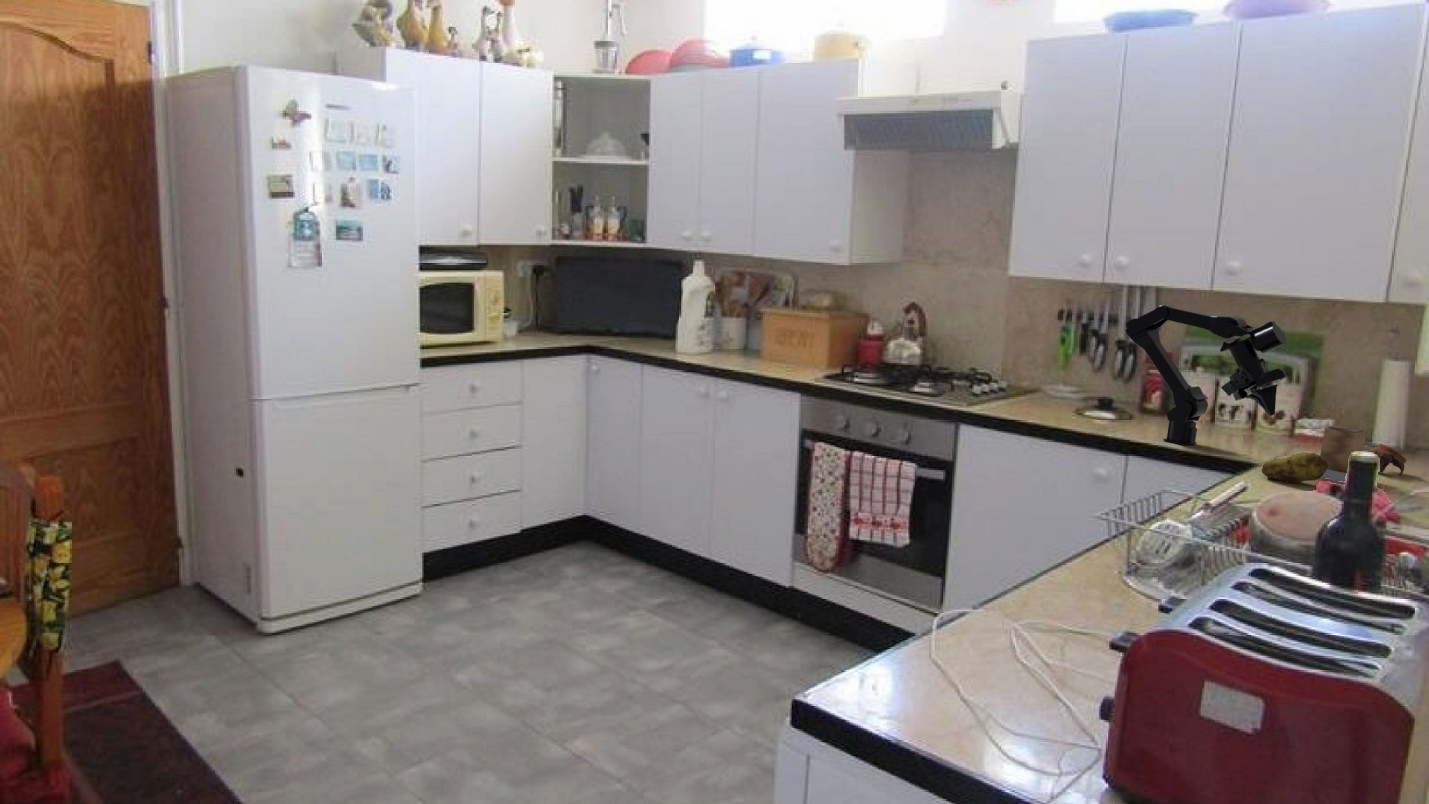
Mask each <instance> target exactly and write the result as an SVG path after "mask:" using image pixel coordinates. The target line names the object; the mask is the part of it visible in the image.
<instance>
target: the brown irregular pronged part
mask: <svg viewBox="0 0 1429 804" xmlns="http://www.w3.org/2000/svg"><path fill="white" fill-rule="evenodd" d="M1367 451H1368V452H1374V453H1375V454H1376V455H1377V457H1379V458H1380V472H1379V473H1383V472H1384V471H1385V470H1386V468H1387V467H1388V466H1389V465H1390V464H1392V465H1393V466H1394V467H1396V468H1398V469H1399V470H1400V472H1399V473H1398V475H1399V476H1402V475H1403V474H1404V471H1405V464H1406V462H1407V458H1406V457H1405V456H1403V455H1402V454H1401V453H1399V452H1398V451H1396V450H1395V449H1393V448H1391V446H1390V447H1389V446H1387V445H1385V444H1382V443H1379V444H1378V445H1377V447H1372V448H1370V449H1368V450H1367Z"/></svg>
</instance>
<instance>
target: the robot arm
mask: <svg viewBox="0 0 1429 804" xmlns="http://www.w3.org/2000/svg"><path fill="white" fill-rule="evenodd" d="M1168 321H1171V322H1175V323H1179V324H1183V325H1188V326H1192V327H1196V328H1199V329H1203V330H1206V331H1208V332H1210V333H1212V334H1213V335H1215V336H1218V337H1220V338H1223V339H1234V340H1232V341H1223V342H1222V345H1221V347H1220V349H1219V352H1220V353H1221V352H1222V353H1223V352H1224V353H1225V352H1229V353H1230V356H1231V357H1232V360H1233V362H1234V364H1235V366H1236V368H1235V369H1234V372H1233V373H1232V374H1231V375H1230V376H1228V377H1229V380H1228V381H1226V383H1224V384H1223V385H1221V386H1220V388H1221V389H1222V391H1223V392H1224V393H1225V394H1227V396H1228V397H1231V396H1233V397H1234V400H1235V402H1237V401H1241V400H1244V399H1250V400H1254V401H1255V402H1256V403H1257V404H1258V405H1259V406H1260V407H1261V408H1262V409H1263V410H1264V412H1266V414H1267V415H1268V416H1269V417H1273V416H1275V414H1276V403H1277V402H1276V399H1277V391H1278V390H1277V388H1278V383H1277V384H1275V383H1274V382H1276V381H1282V380H1284V379H1286V378H1287V374H1286V372H1285V371H1284V369H1281V368H1275V369H1272V370H1269V371H1266V369H1265V367H1264V365H1263V363H1265V360H1264V358H1260V356H1259V354H1258V352H1261V354H1265V353H1268V352H1270V351H1273V350H1275V349H1277V348H1279V347H1280V348H1281V347H1282V346H1284V345H1286V344H1287V337H1286V334H1285V332H1284V331H1283V330H1282V329H1281V328H1280V327H1279V326H1278V325H1277V324H1276V322H1275V321H1273V320H1270V321H1268V322H1266V323H1264V324H1262V325H1261V326H1258V327H1257V328H1255V327H1253V326H1251V325H1249V324H1247V322H1246V320H1245V319H1244V318H1243V317H1241V316H1234V315H1233V316H1232V315H1212V314H1207V313H1202V312H1199V311H1198V312H1197V311H1194V310H1189V309H1186V308H1185V309H1184V308H1179V307H1175V306H1173V305H1171V304H1163V305H1159V306H1158V307H1155V309H1153V310H1151V311H1149V312H1147V313H1145V314H1143V315H1141V316H1139V317H1136V318H1131V319H1130V320H1128V322H1127V323H1126V325H1125V329H1124V332H1125V333H1126V335H1127V336H1128V337H1129V339H1130V340H1131V341H1132V342H1133V343H1134V344H1135V345H1137V346H1138V347H1140V348H1141V349H1142V350H1144V351H1145V353H1146V355H1147V356H1148V358H1149V359H1150V361H1151V362H1152V364H1153V365H1154V367H1155V368H1156V370H1157V372H1158V373H1159V374H1160V375H1161V377H1162V379H1163V381H1164V382H1165V384H1166V385H1167V387H1168V388H1169V390H1170V391H1171V394H1172V402H1173V404H1174V407H1173V408H1171V409H1170V410H1168V411H1167V412H1166V416H1167V417H1166V418H1167V421H1168V427H1167V434H1166V437H1165V438H1163V439H1162V440H1163V441H1164V442H1168V443H1173V444H1178V445H1181V446H1188V445H1196V444H1197V441H1196V440H1197V432H1198V428H1197V422H1198V421H1199V420H1200V419H1201V417H1202V416H1204V415H1205V414H1206V413H1207V411H1208V407H1209V402H1208V400H1207V399H1208V397H1207V396H1206V395H1205V394H1204V392H1203V390H1202V388H1201V387H1200V386H1191V385H1190V384H1189V383H1188V382H1187V380H1186V379H1185V377H1184V376H1183V374H1182V372H1181V371H1180V370H1179V368H1178V367H1177V365H1176V363H1174V360H1173V359H1172V358H1171V357H1170V355H1169V354H1168V352H1167V350H1166V348H1165V347H1164V346H1163V345H1162V343H1161V340H1160V338H1161V337H1160V333H1159V330H1158V329H1160V328H1162V327H1163V325H1165V324H1166V323H1167V322H1168ZM1242 337H1247V338H1245V339H1242Z"/></svg>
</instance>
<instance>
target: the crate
mask: <svg viewBox="0 0 1429 804" xmlns="http://www.w3.org/2000/svg"><path fill="white" fill-rule="evenodd" d="M1323 432H1324V433H1323V437H1322V443H1321V448H1320V454H1319V456H1321V457H1322V458H1323V459H1325V460H1326V461H1327V463H1328V468H1327V469H1329V470H1334V471H1338V472H1343V473H1347V469H1348V458H1349V456H1350V454H1351V452H1354V451H1363V452H1364V448H1365V445H1366V437H1367V431H1365V430H1364V429H1359V428H1353V427H1350V426H1349V427H1348V426H1343V425H1338V424H1337V425H1331V426H1328V427H1325V428H1324V431H1323Z"/></svg>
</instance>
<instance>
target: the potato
mask: <svg viewBox="0 0 1429 804" xmlns="http://www.w3.org/2000/svg"><path fill="white" fill-rule="evenodd" d="M1292 455H1293V456H1292ZM1292 455H1291V456H1288V457H1285V458H1280V459H1275V460H1274V459H1271V460H1268V461H1266V462H1264V463H1263V465H1262V468H1261V473H1262V474H1263V475H1264V476H1265V477H1267V478H1268V479H1271V480H1277V481H1281V482H1286V481H1288V482H1287V483H1302V482H1308V481H1316V480H1320V479H1322V478H1321V477H1322V475H1323V474H1324V473H1325V471H1326V470H1327V468H1328V463H1327V461H1326V460H1325V459H1323V458H1322V457H1321V456H1320V454H1316V453H1315V452H1311V453H1309V452H1301V453H1296V454H1292Z"/></svg>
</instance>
